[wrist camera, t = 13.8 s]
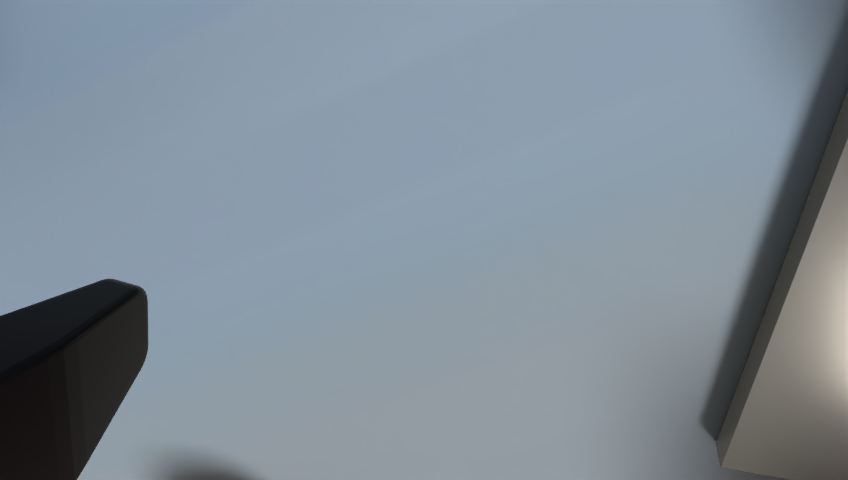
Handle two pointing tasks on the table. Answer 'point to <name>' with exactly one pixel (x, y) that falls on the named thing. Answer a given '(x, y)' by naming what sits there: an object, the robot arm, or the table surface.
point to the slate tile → (801, 346)
